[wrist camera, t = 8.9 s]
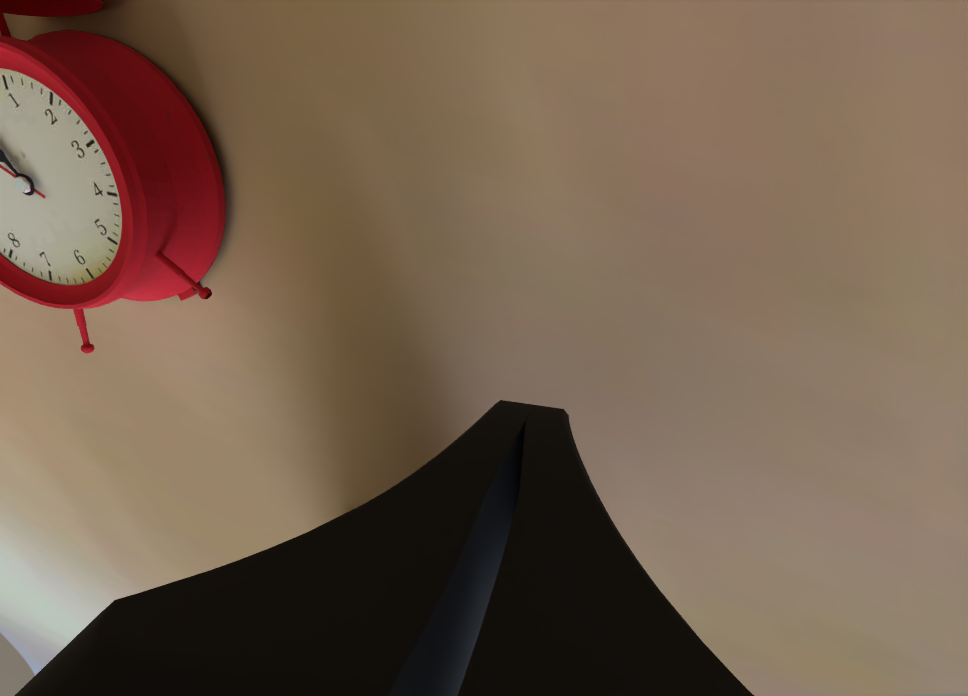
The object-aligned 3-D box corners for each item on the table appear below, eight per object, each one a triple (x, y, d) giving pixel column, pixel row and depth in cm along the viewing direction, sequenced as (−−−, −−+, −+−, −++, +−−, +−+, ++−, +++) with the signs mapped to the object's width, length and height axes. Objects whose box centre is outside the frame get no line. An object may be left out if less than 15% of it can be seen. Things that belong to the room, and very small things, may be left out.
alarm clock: (58, 379, 21) (-389, -8, 14) (153, 305, 26) (-140, -7, 19) (234, 296, 18) (-240, -271, 11) (304, 230, 23) (16, -184, 16)
